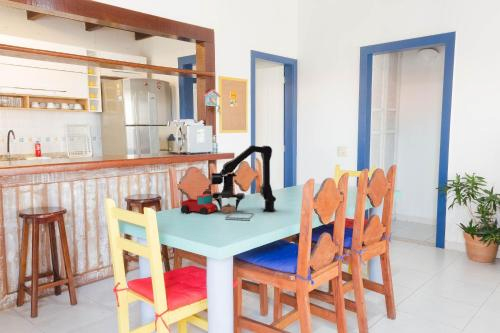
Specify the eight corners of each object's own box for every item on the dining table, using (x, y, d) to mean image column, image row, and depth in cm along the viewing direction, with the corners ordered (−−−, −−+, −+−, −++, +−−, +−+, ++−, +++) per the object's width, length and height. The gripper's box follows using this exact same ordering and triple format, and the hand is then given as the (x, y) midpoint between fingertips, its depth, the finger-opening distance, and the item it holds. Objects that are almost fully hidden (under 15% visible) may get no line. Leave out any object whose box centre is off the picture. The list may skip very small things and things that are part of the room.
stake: (222, 210, 239) (222, 202, 238) (238, 211, 236) (238, 202, 236) (218, 214, 229) (218, 205, 228) (234, 214, 227) (234, 206, 226)
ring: (224, 209, 236) (224, 204, 236) (235, 210, 235) (235, 205, 235) (220, 212, 228) (220, 207, 228) (231, 213, 227) (231, 207, 227)
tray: (231, 214, 227) (231, 212, 227) (254, 215, 224) (254, 213, 224) (225, 219, 214) (225, 217, 214) (249, 221, 211) (249, 218, 211)
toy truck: (207, 217, 222) (206, 197, 221) (179, 213, 232) (179, 194, 231) (219, 213, 232) (219, 194, 231) (192, 209, 242) (192, 192, 241)
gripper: (209, 185, 225) (209, 212, 227) (240, 186, 221) (240, 213, 223) (214, 182, 236) (215, 208, 237) (244, 183, 232) (244, 209, 234)
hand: (228, 210), depth 232 cm, fingers open, 9 cm apart
